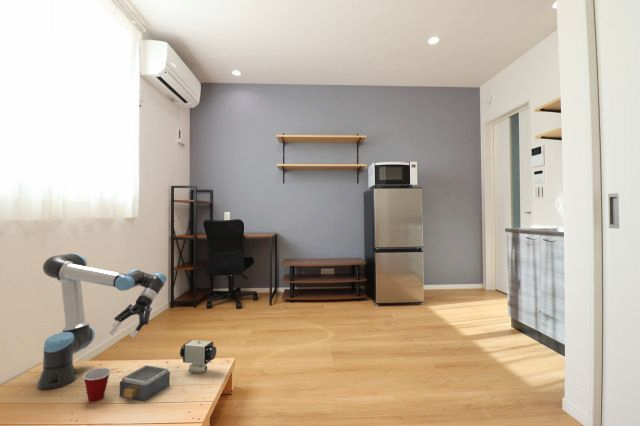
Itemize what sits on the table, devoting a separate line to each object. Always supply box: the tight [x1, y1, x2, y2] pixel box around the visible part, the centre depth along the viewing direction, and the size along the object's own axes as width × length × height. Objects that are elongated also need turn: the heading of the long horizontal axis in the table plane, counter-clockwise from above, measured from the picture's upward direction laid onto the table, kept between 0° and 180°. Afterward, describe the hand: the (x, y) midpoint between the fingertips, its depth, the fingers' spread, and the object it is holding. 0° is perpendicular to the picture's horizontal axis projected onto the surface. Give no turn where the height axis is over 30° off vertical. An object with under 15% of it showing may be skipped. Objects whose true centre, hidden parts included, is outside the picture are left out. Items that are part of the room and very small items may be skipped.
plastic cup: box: [82, 367, 112, 403], centre depth 144 cm, size 11×11×12 cm
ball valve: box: [179, 339, 217, 375], centre depth 171 cm, size 18×8×18 cm, turn 80°
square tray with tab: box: [119, 365, 171, 403], centre depth 150 cm, size 15×17×8 cm
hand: (121, 335), depth 156 cm, fingers open, 13 cm apart
